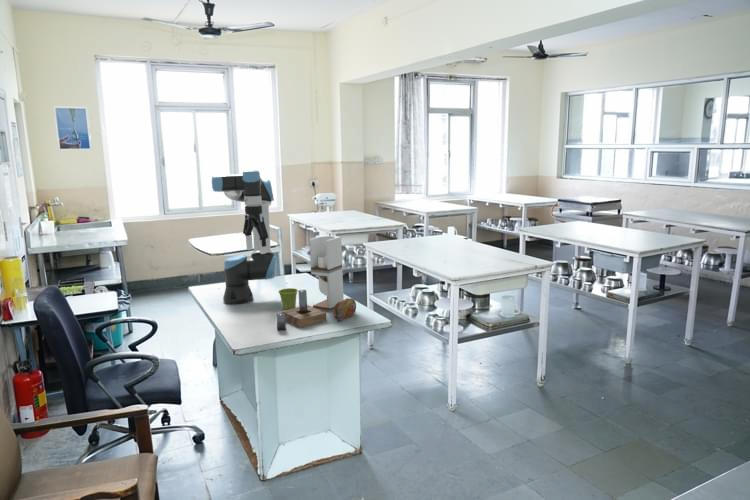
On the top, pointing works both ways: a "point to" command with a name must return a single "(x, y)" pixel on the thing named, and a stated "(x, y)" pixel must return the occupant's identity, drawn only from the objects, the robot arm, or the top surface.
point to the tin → (344, 309)
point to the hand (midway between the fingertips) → (256, 251)
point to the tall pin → (303, 301)
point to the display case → (327, 269)
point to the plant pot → (288, 297)
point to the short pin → (281, 322)
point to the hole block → (304, 316)
